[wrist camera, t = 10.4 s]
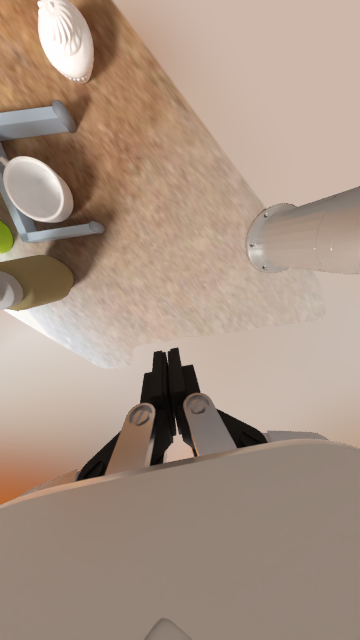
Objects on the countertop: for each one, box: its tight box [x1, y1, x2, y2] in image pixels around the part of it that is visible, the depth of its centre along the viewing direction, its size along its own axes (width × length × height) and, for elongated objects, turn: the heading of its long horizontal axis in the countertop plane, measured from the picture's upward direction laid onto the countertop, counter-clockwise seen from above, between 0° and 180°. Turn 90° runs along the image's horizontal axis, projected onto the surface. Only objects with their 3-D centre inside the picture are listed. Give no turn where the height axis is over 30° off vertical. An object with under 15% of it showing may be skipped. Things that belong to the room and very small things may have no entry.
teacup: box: [0, 156, 73, 222], centre depth 27 cm, size 10×8×5 cm
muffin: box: [38, 0, 94, 84], centre depth 21 cm, size 6×6×7 cm
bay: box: [0, 100, 105, 243], centre depth 27 cm, size 13×16×4 cm
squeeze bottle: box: [0, 255, 74, 311], centre depth 26 cm, size 8×8×18 cm
